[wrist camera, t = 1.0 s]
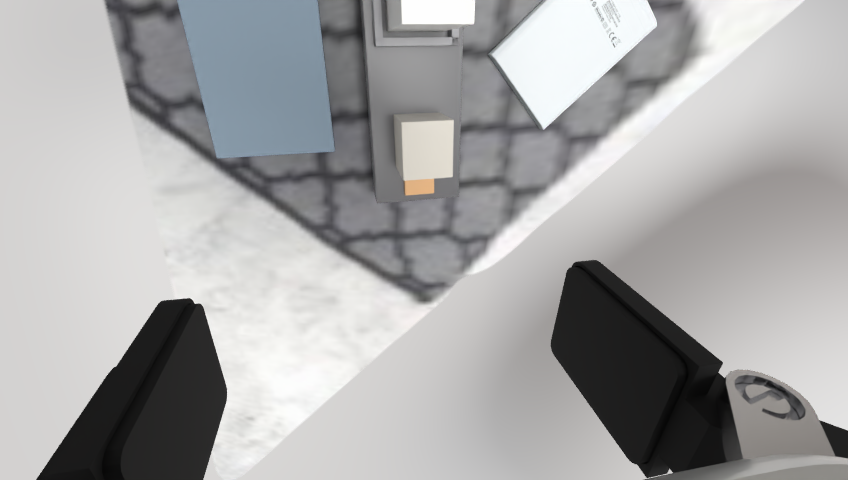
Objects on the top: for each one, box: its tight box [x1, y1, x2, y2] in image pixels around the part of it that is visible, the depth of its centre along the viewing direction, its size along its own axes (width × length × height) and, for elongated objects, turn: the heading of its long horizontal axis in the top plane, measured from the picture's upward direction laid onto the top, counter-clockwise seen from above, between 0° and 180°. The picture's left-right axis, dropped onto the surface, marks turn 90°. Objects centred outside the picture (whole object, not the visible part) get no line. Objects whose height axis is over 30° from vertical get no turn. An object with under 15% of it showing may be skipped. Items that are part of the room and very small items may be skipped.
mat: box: [177, 0, 335, 158], centre depth 28 cm, size 12×9×1 cm
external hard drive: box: [488, 0, 657, 129], centre depth 32 cm, size 2×8×12 cm
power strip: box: [360, 0, 463, 203], centre depth 26 cm, size 26×7×7 cm, turn 1°
